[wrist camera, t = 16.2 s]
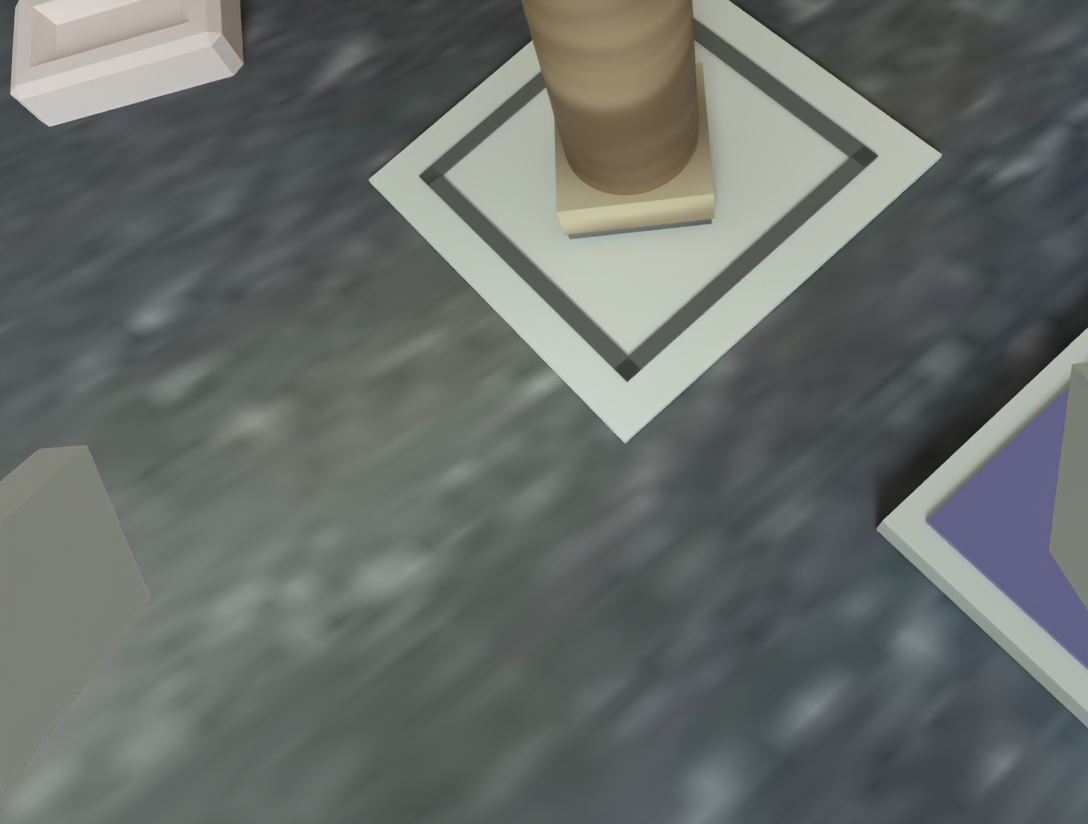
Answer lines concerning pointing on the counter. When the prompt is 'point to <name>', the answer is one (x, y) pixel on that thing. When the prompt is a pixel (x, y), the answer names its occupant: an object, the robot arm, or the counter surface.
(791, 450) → the counter surface
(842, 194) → the sheet
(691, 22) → the stamp
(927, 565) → the ink pad
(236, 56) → the soap bar
